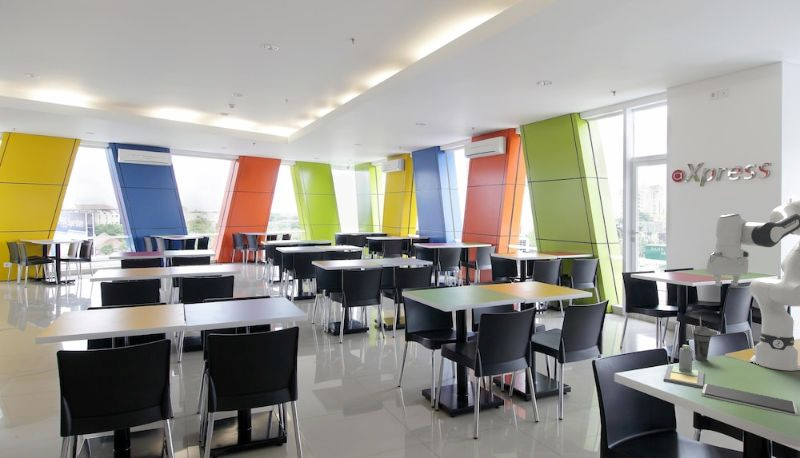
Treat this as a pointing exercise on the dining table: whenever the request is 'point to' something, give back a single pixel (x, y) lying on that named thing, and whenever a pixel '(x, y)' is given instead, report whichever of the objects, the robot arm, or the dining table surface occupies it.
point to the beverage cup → (701, 341)
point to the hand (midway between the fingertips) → (726, 285)
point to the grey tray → (750, 399)
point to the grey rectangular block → (685, 359)
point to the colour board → (684, 377)
